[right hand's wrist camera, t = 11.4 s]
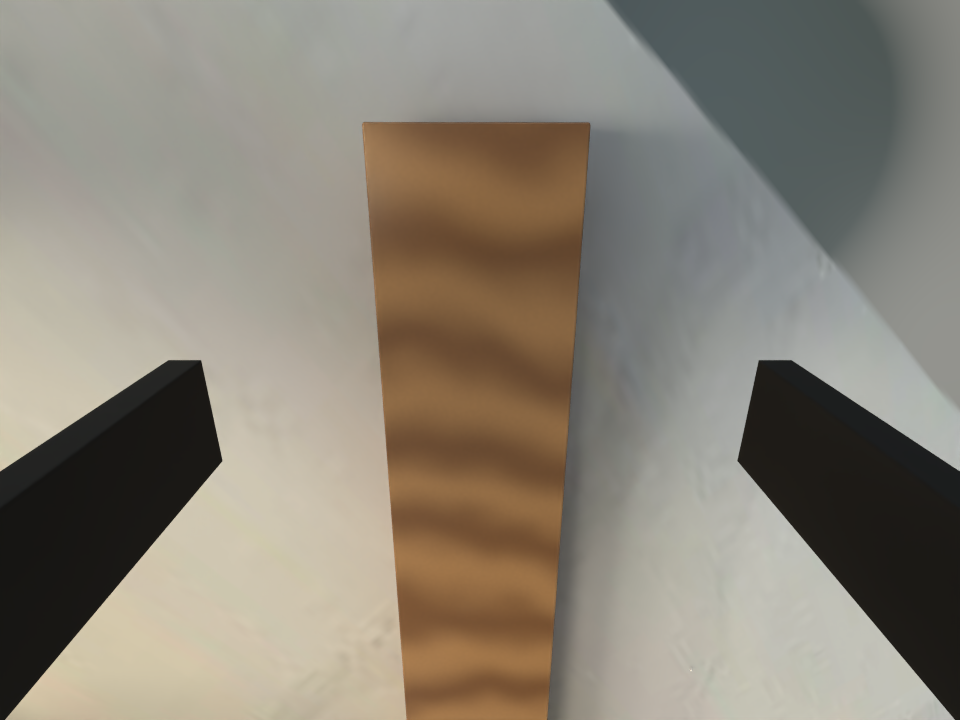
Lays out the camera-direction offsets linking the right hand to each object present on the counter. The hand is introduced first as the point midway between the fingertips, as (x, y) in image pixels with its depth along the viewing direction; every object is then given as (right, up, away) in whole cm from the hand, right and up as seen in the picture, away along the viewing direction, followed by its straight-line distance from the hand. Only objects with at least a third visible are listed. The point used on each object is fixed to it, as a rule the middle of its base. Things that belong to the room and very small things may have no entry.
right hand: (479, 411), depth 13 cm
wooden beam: (0, -23, +30) cm, 38 cm away
